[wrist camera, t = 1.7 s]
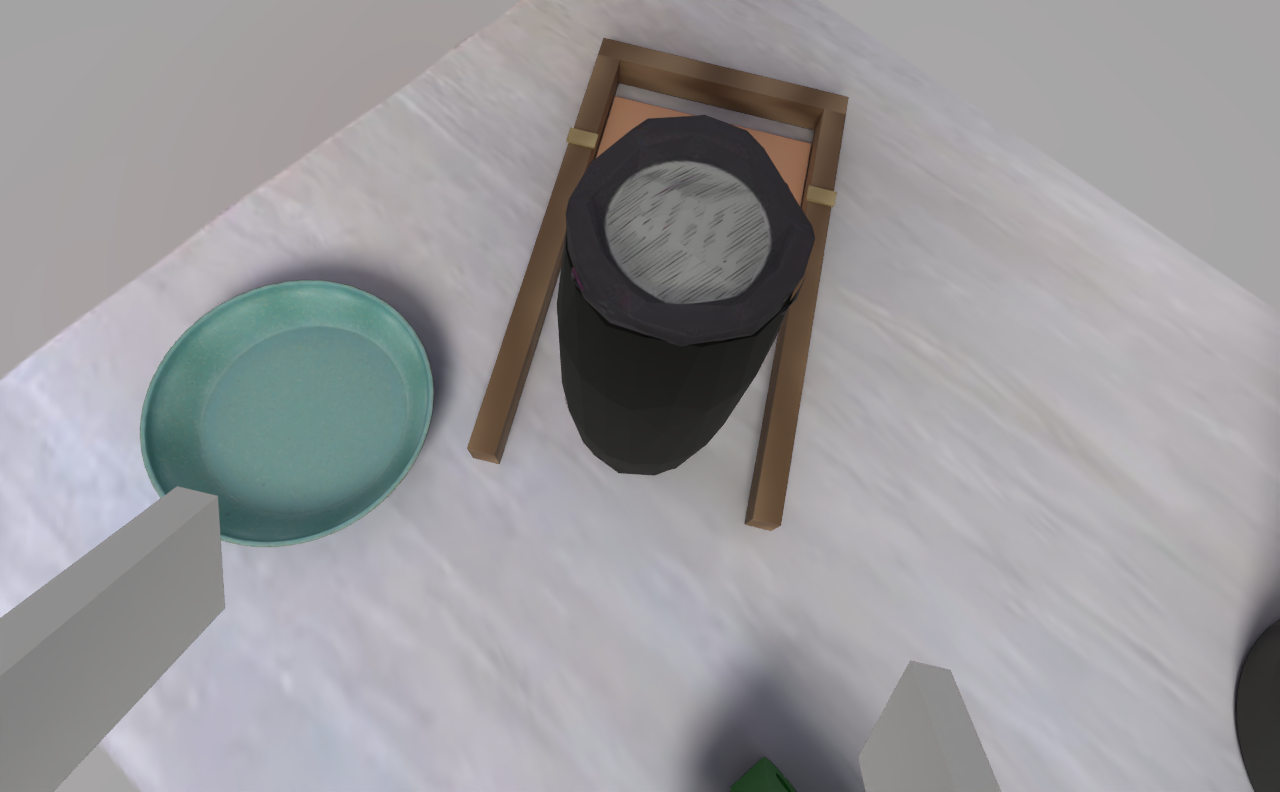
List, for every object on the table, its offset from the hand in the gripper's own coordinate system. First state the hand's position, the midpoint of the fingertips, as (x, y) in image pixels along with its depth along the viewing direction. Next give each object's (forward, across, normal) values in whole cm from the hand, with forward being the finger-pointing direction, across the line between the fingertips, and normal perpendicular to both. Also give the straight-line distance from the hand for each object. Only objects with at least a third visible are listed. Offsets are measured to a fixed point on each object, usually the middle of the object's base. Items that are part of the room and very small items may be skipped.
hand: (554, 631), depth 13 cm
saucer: (+22, -17, -12) cm, 30 cm away
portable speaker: (+26, +1, -8) cm, 27 cm away
